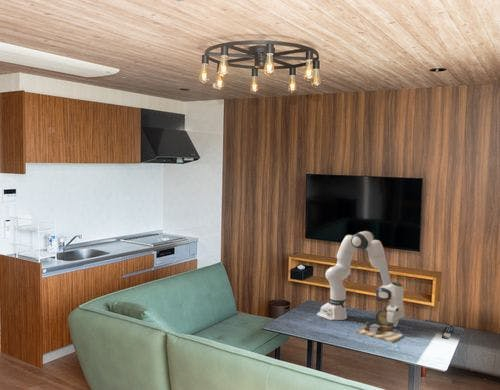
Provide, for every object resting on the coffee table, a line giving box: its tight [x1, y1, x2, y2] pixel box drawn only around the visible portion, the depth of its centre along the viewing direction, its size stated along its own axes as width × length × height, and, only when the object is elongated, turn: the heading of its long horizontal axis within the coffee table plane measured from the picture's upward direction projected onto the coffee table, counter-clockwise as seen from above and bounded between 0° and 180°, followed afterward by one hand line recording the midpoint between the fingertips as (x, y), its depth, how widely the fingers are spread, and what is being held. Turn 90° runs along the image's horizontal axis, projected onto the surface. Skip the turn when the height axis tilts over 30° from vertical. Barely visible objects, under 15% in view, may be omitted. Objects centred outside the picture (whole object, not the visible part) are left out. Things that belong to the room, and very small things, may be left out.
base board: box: [356, 327, 404, 344], centre depth 318 cm, size 26×15×1 cm, turn 49°
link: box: [363, 321, 394, 332], centre depth 323 cm, size 19×4×5 cm, turn 84°
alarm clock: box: [375, 303, 392, 326], centre depth 335 cm, size 11×5×16 cm, turn 62°
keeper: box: [369, 323, 382, 334], centre depth 320 cm, size 5×6×4 cm
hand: (395, 326), depth 328 cm, fingers closed
